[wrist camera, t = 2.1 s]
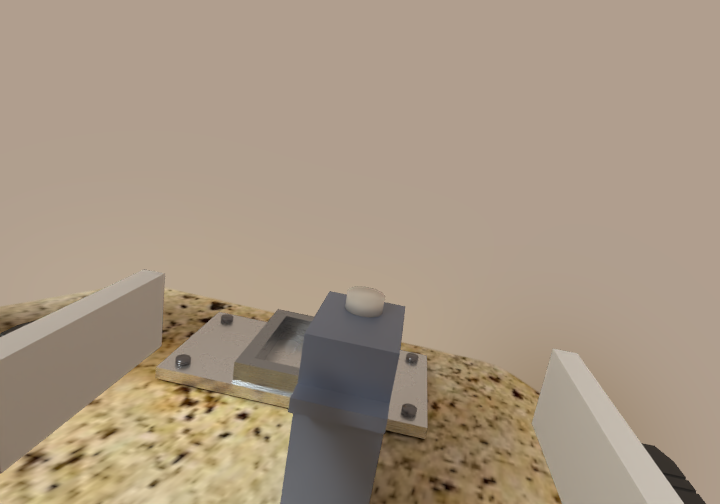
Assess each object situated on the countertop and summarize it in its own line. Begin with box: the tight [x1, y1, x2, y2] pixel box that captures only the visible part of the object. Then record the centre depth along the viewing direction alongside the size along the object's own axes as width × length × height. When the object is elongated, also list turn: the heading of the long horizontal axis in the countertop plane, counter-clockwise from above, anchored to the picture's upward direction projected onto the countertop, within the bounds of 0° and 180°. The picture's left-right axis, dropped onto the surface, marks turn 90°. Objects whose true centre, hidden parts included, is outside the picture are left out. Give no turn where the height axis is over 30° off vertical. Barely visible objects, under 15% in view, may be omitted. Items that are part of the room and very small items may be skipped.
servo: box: [280, 287, 405, 504], centre depth 28 cm, size 5×9×13 cm, turn 172°
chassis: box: [156, 309, 427, 439], centre depth 42 cm, size 22×12×3 cm, turn 82°
